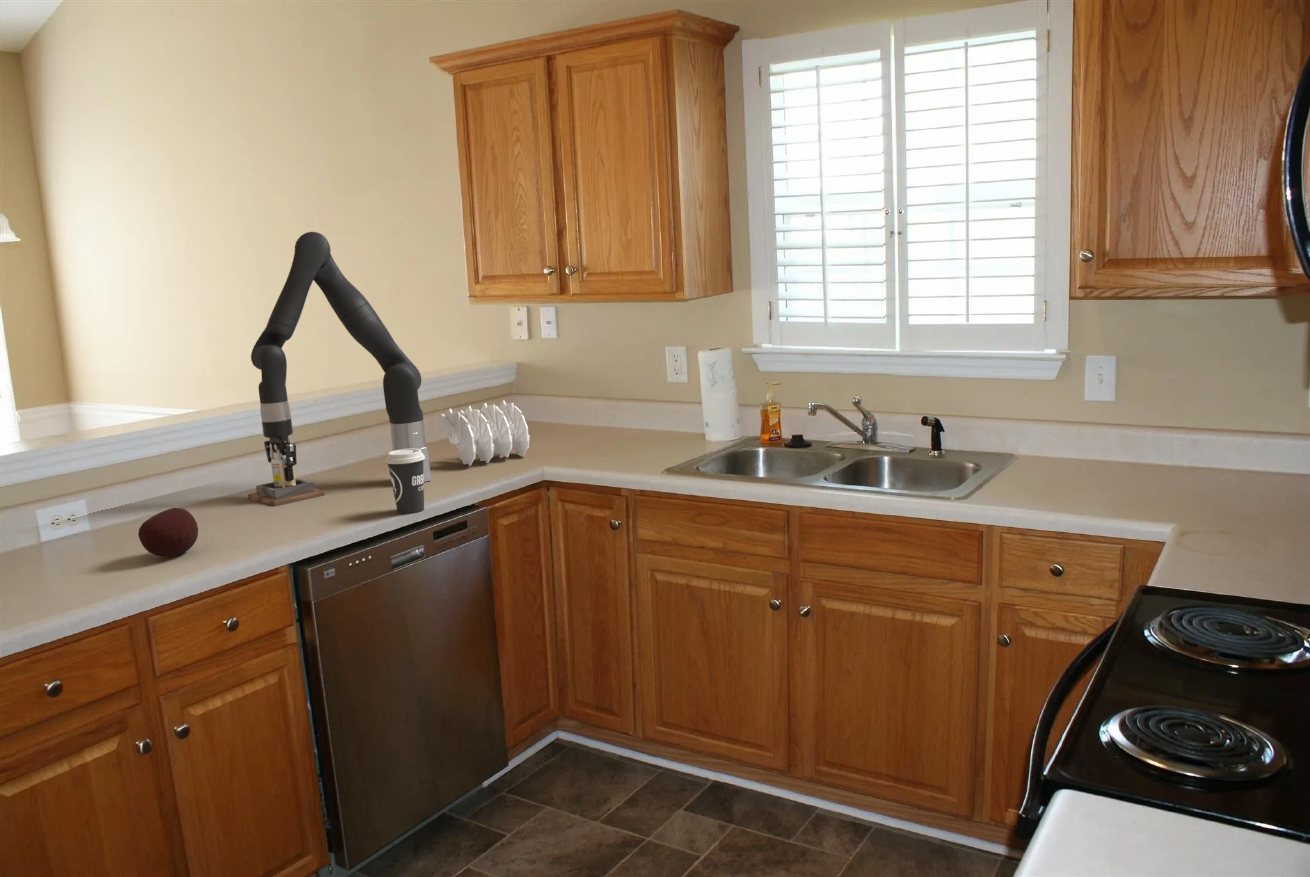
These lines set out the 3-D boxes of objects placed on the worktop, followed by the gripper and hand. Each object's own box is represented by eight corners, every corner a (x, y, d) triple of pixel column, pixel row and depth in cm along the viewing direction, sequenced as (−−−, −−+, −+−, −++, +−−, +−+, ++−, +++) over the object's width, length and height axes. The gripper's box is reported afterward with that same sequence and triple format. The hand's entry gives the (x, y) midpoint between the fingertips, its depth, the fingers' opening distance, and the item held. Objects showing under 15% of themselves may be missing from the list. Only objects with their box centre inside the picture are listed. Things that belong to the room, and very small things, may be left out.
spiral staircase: (533, 468, 320) (461, 479, 305) (506, 438, 332) (434, 447, 316) (545, 417, 312) (471, 426, 297) (516, 389, 323) (444, 395, 308)
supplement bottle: (298, 485, 285) (293, 448, 284) (293, 489, 280) (288, 452, 278) (277, 486, 285) (272, 450, 283) (272, 491, 280) (267, 454, 278)
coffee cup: (410, 516, 252) (404, 456, 249) (383, 513, 257) (376, 454, 254) (438, 507, 259) (432, 448, 257) (410, 504, 265) (404, 447, 262)
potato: (130, 563, 226) (123, 517, 224) (177, 546, 238) (170, 502, 236) (169, 566, 222) (162, 519, 220) (215, 548, 234) (208, 503, 232)
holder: (324, 494, 282) (322, 482, 282) (275, 506, 272) (273, 492, 272) (296, 488, 293) (294, 475, 293) (248, 498, 284) (246, 485, 283)
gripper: (302, 417, 277) (310, 479, 280) (277, 414, 287) (285, 474, 290) (275, 422, 271) (283, 485, 274) (250, 418, 281) (259, 479, 284)
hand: (284, 479), depth 282 cm, fingers closed on supplement bottle, 5 cm apart
